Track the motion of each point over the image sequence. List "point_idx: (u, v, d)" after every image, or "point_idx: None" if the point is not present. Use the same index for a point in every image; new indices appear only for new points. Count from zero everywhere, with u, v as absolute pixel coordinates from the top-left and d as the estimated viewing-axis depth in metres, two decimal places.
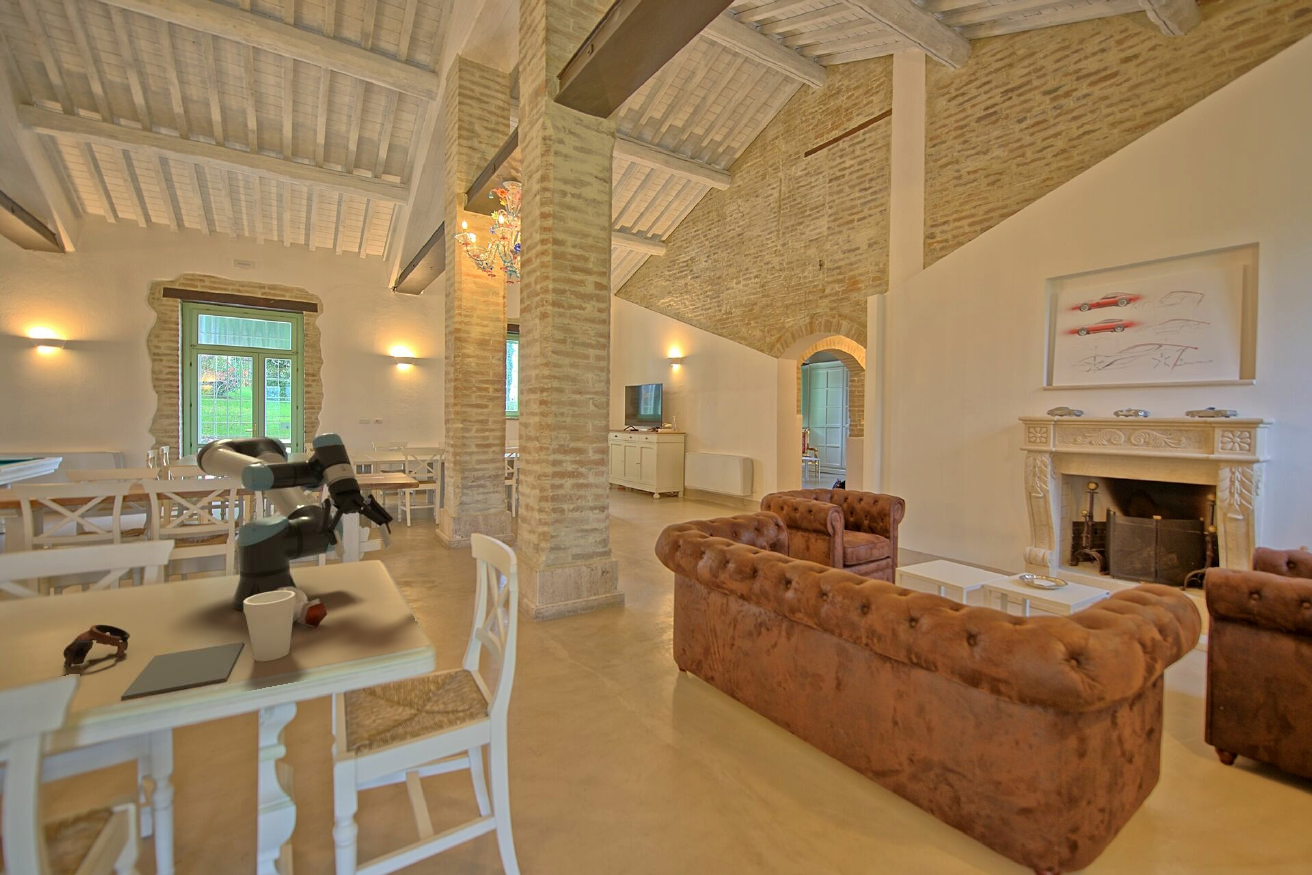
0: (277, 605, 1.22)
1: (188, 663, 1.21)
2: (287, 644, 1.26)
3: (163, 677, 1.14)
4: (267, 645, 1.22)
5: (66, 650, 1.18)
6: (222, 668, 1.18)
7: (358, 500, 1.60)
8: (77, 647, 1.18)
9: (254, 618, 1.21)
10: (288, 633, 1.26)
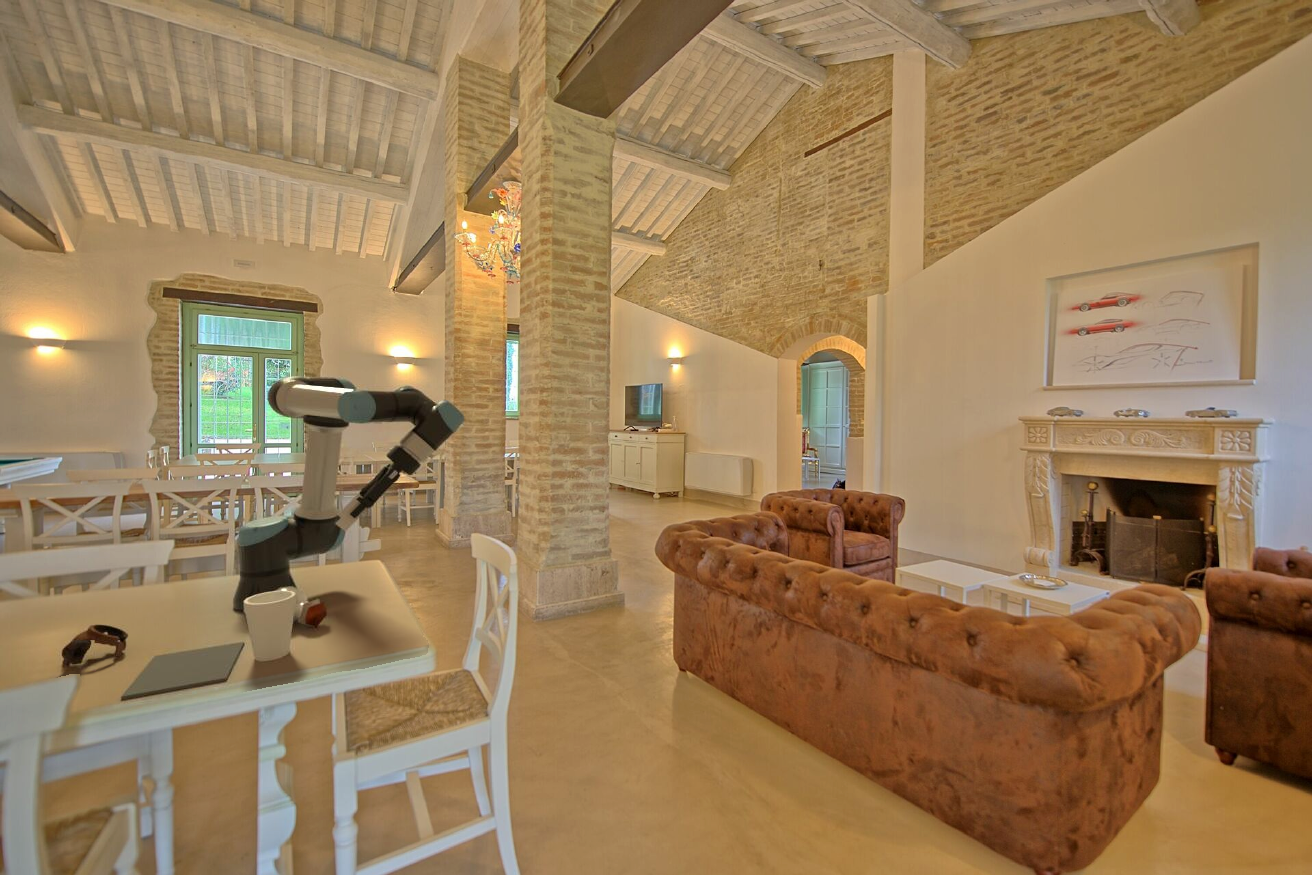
0: (277, 605, 1.22)
1: (188, 663, 1.21)
2: (287, 644, 1.26)
3: (163, 677, 1.14)
4: (267, 645, 1.22)
5: (64, 650, 1.18)
6: (222, 668, 1.18)
7: None
8: (75, 647, 1.19)
9: (254, 618, 1.21)
10: (288, 633, 1.26)
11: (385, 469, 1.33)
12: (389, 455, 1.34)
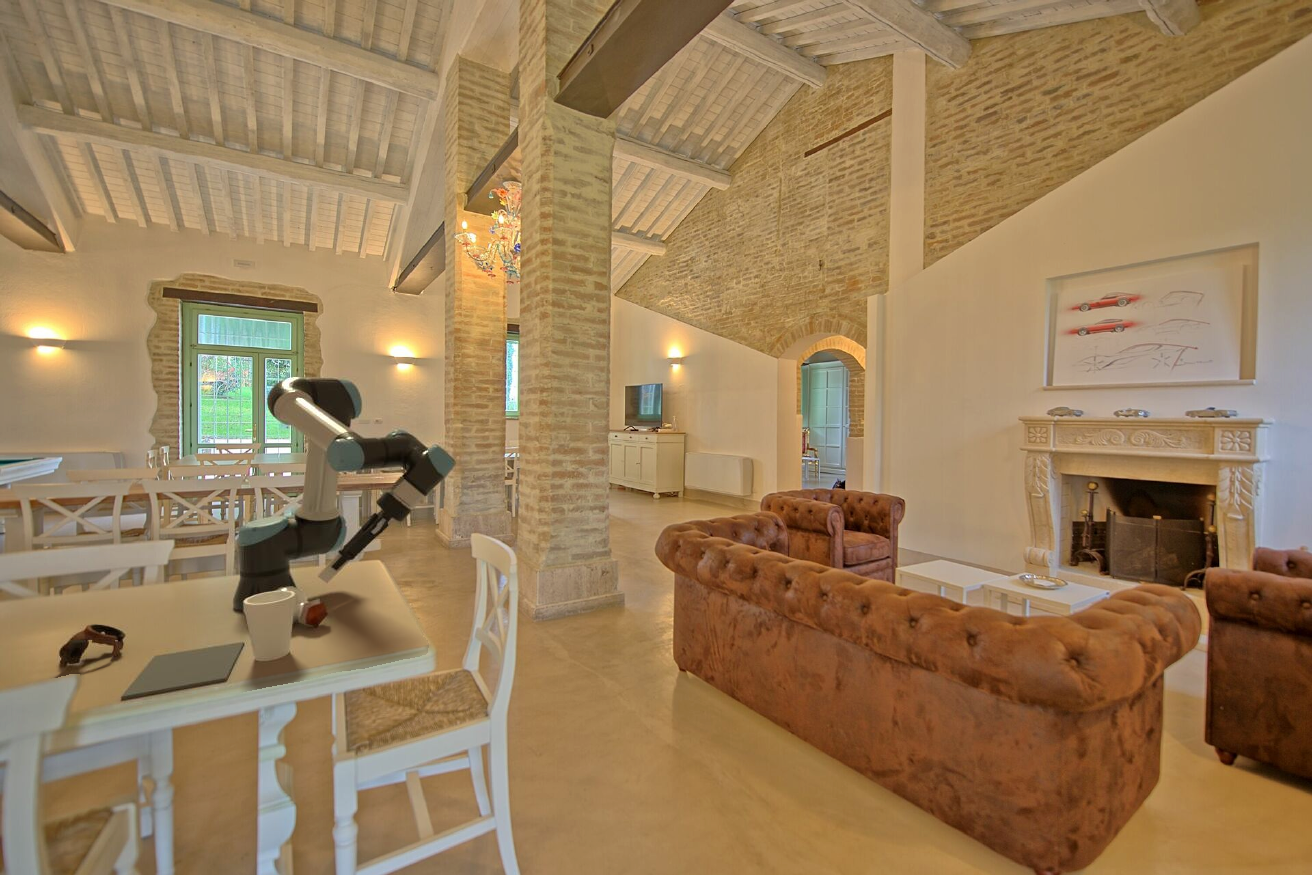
0: (277, 605, 1.22)
1: (188, 663, 1.21)
2: (287, 644, 1.26)
3: (163, 677, 1.14)
4: (267, 645, 1.22)
5: (62, 650, 1.18)
6: (222, 668, 1.18)
7: None
8: (73, 646, 1.19)
9: (254, 618, 1.21)
10: (288, 633, 1.26)
11: (375, 517, 1.32)
12: (379, 502, 1.33)
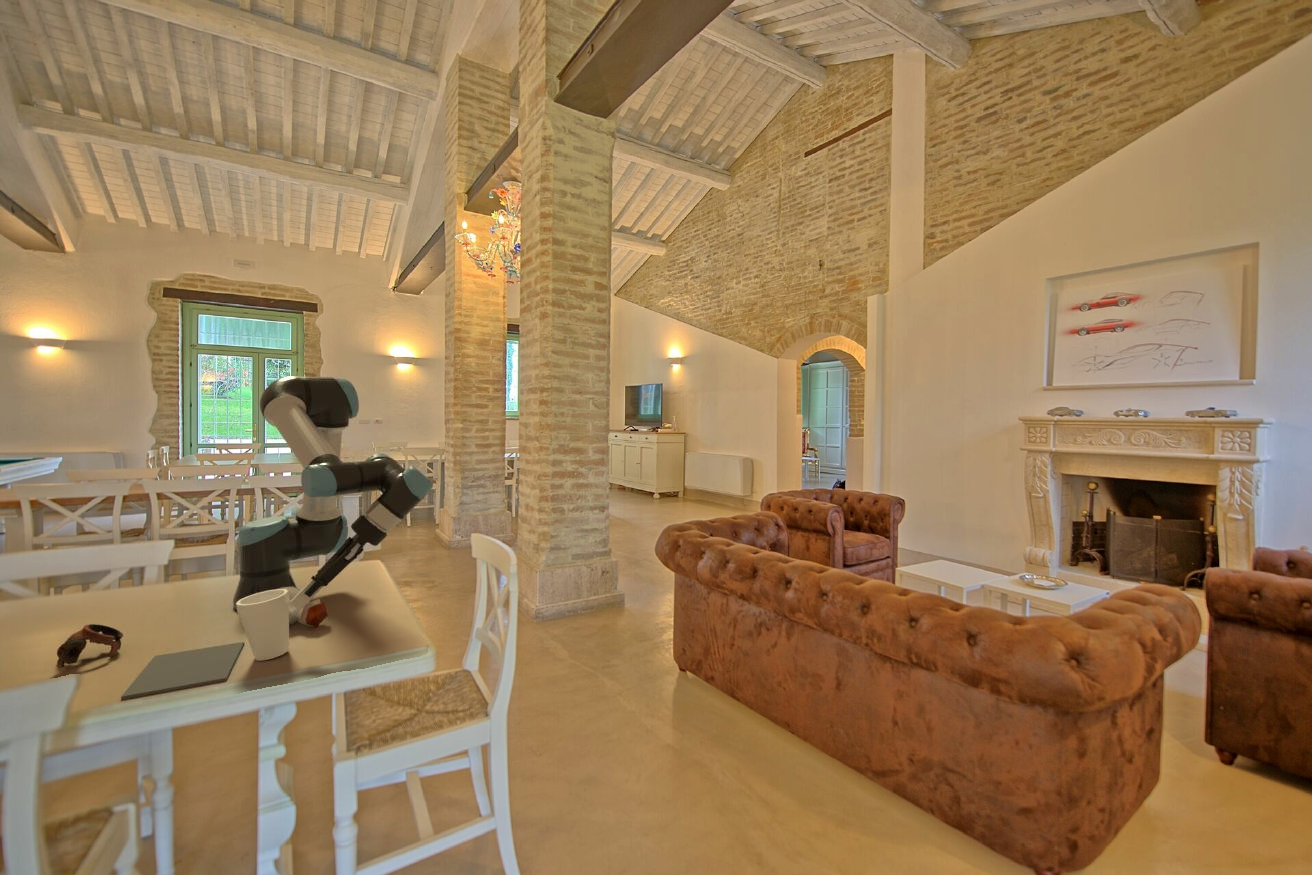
0: (270, 604, 1.22)
1: (188, 663, 1.21)
2: (286, 642, 1.26)
3: (163, 677, 1.14)
4: (265, 644, 1.22)
5: (60, 649, 1.18)
6: (222, 668, 1.18)
7: None
8: (71, 646, 1.19)
9: (248, 618, 1.21)
10: (285, 630, 1.26)
11: (349, 541, 1.30)
12: (353, 527, 1.30)
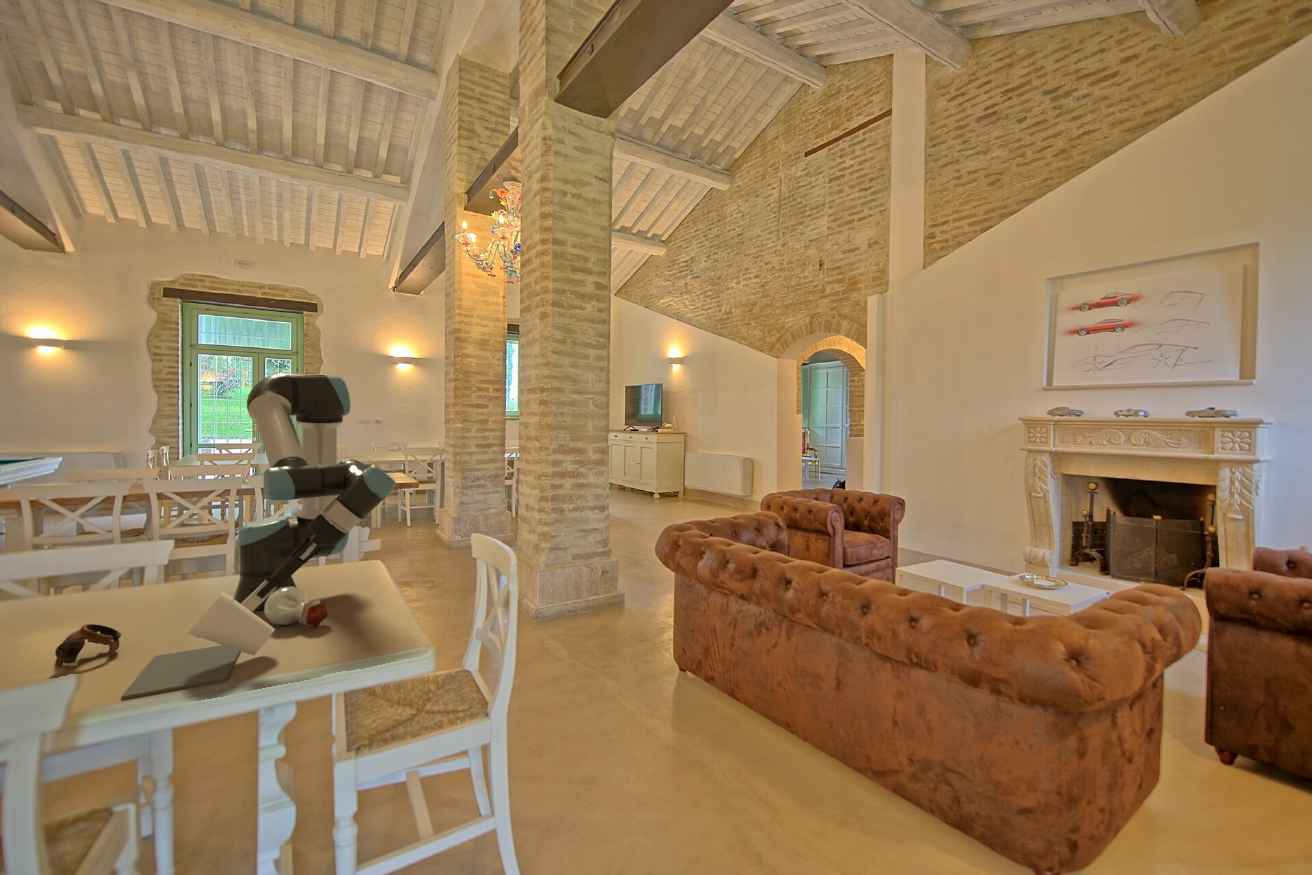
0: (211, 612, 1.17)
1: (188, 663, 1.21)
2: (264, 626, 1.24)
3: (163, 677, 1.14)
4: (244, 641, 1.21)
5: (58, 649, 1.18)
6: (222, 668, 1.18)
7: None
8: (69, 646, 1.19)
9: (207, 635, 1.18)
10: (253, 620, 1.23)
11: (305, 541, 1.26)
12: (310, 526, 1.26)
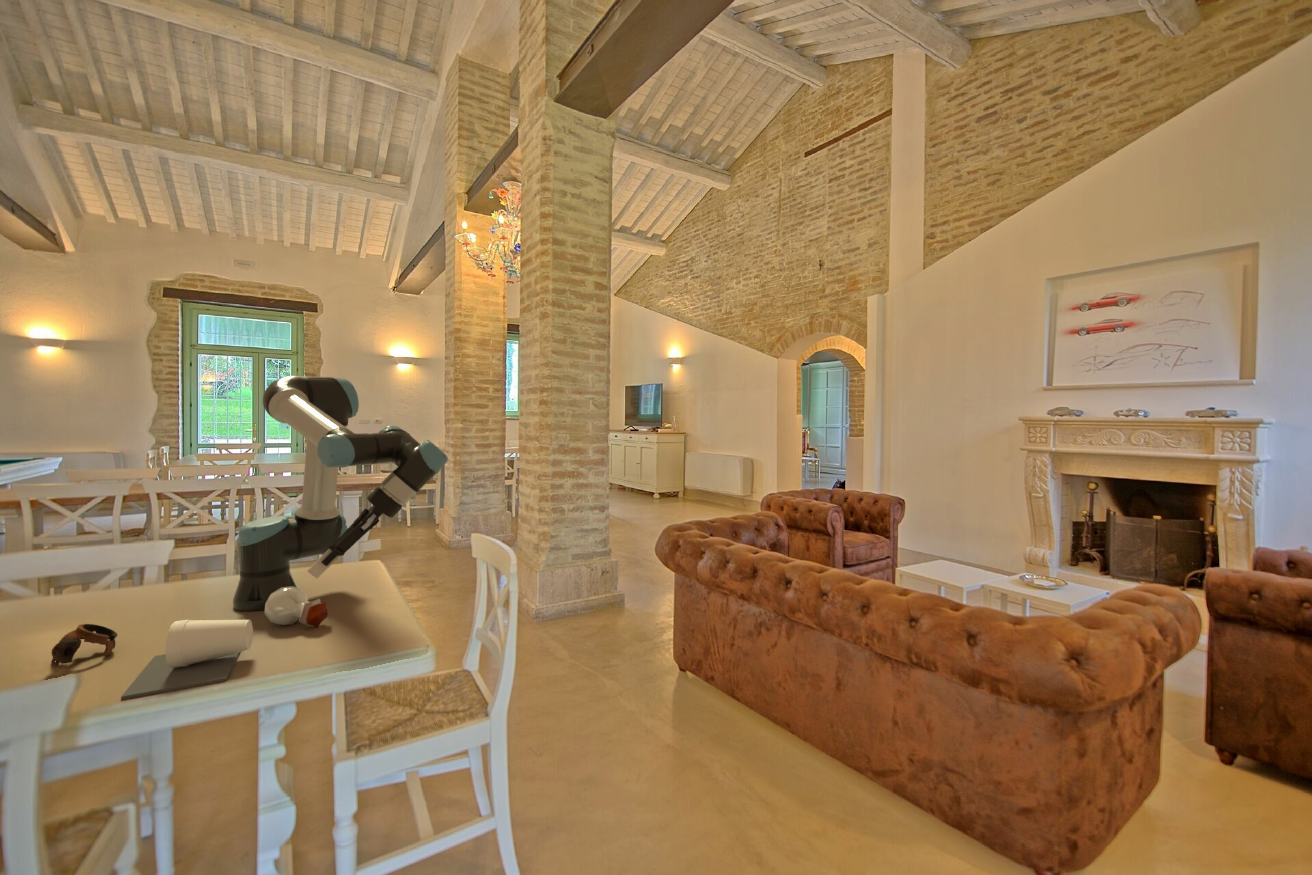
0: (171, 640, 1.16)
1: None
2: (235, 622, 1.22)
3: (163, 677, 1.14)
4: (224, 643, 1.19)
5: (54, 649, 1.18)
6: (222, 668, 1.18)
7: None
8: (65, 646, 1.19)
9: (186, 658, 1.17)
10: (219, 624, 1.21)
11: (365, 512, 1.32)
12: (369, 498, 1.32)
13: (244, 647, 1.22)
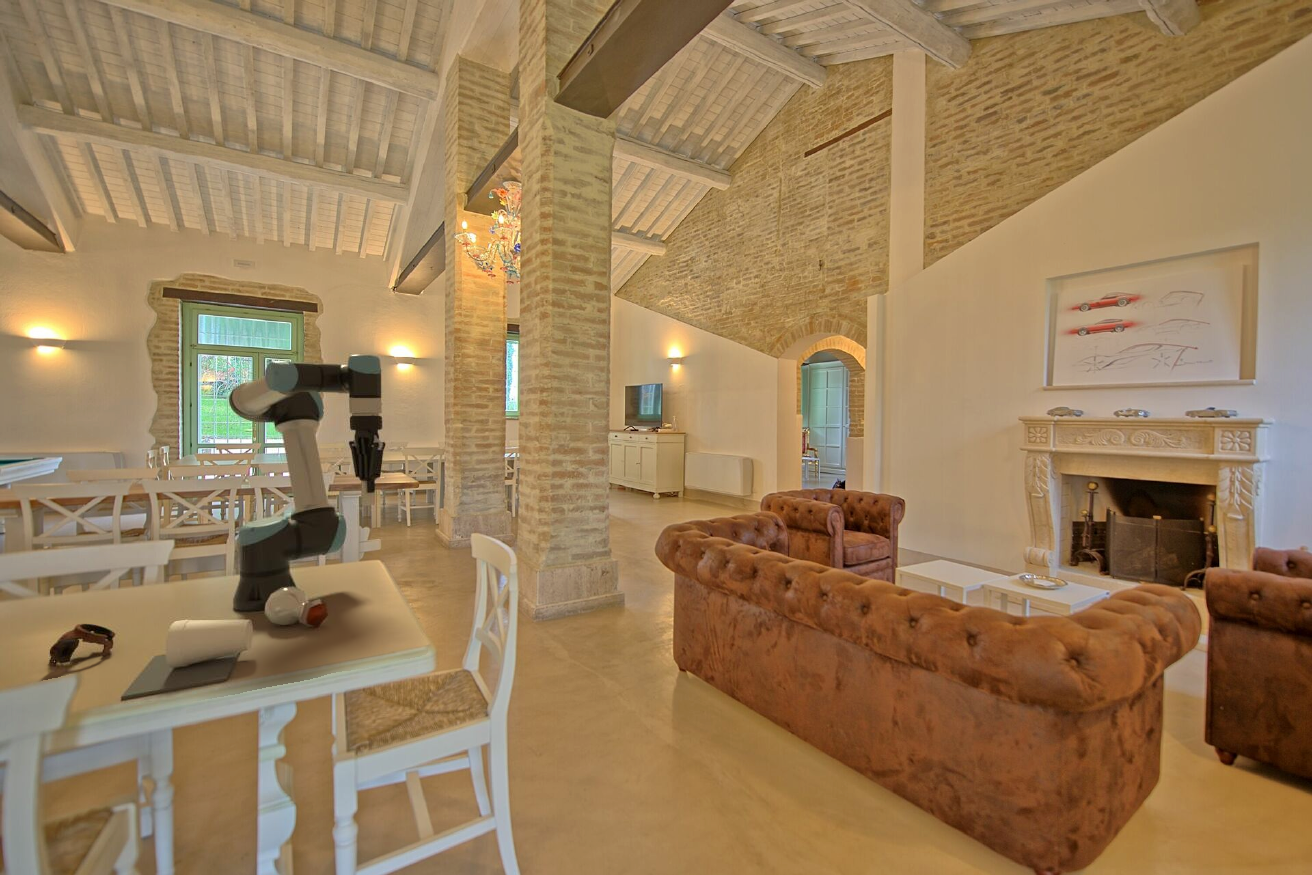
0: (171, 640, 1.16)
1: None
2: (235, 622, 1.22)
3: (163, 677, 1.14)
4: (224, 643, 1.19)
5: (52, 649, 1.18)
6: (222, 668, 1.18)
7: None
8: (64, 646, 1.19)
9: (186, 658, 1.17)
10: (219, 624, 1.21)
11: (364, 439, 1.46)
12: (358, 428, 1.44)
13: (244, 647, 1.22)
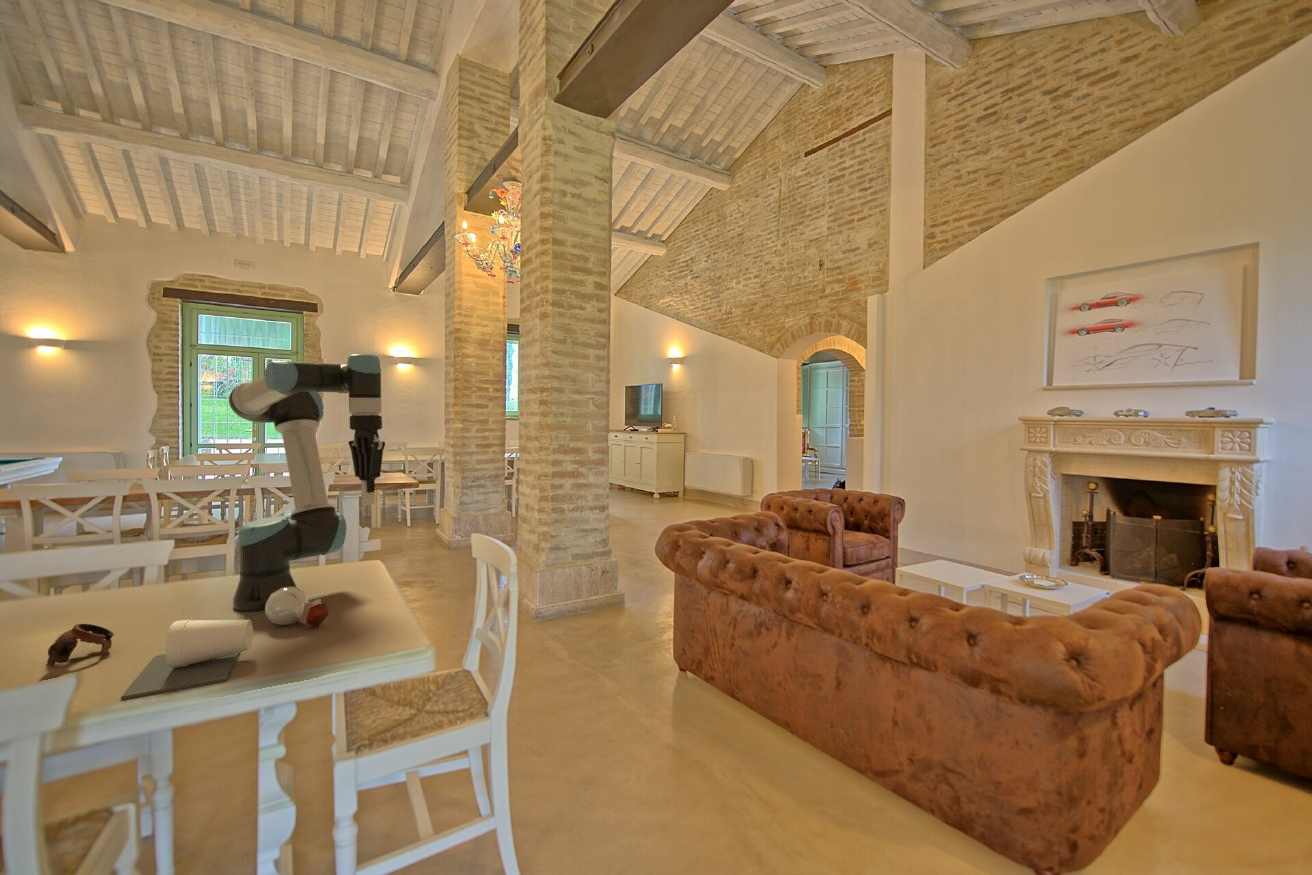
0: (171, 640, 1.16)
1: None
2: (235, 622, 1.22)
3: (163, 677, 1.14)
4: (224, 643, 1.19)
5: (51, 649, 1.18)
6: (222, 668, 1.18)
7: None
8: (62, 645, 1.19)
9: (186, 658, 1.17)
10: (219, 624, 1.21)
11: (364, 439, 1.46)
12: (357, 427, 1.44)
13: (244, 647, 1.22)
